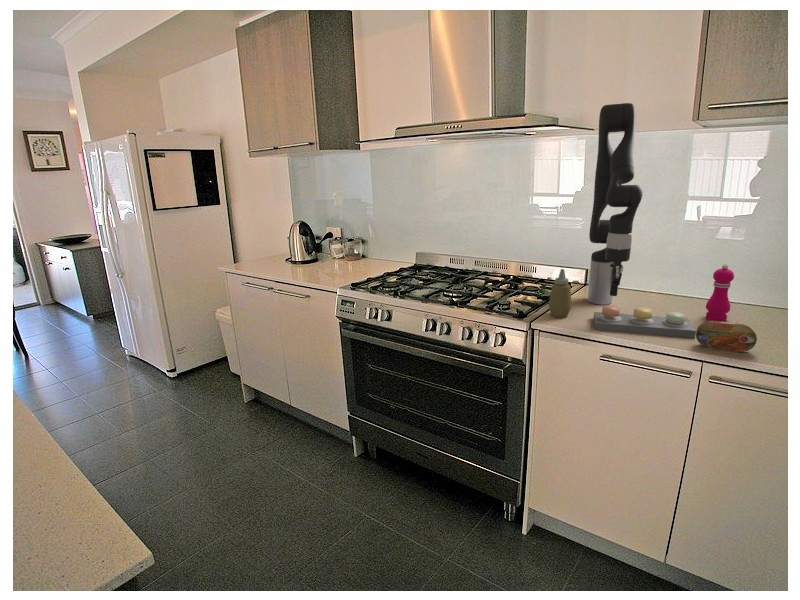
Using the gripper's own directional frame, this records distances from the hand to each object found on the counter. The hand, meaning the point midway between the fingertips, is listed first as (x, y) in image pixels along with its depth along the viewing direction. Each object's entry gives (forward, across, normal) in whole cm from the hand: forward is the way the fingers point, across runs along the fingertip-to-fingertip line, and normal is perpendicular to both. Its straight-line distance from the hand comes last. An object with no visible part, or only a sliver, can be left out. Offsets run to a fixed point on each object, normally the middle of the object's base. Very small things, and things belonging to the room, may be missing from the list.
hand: (613, 295), depth 159 cm
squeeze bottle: (+11, -6, -17) cm, 21 cm away
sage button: (+8, 0, +20) cm, 21 cm away
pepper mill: (+11, -16, +36) cm, 41 cm away
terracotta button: (+7, 0, 0) cm, 7 cm away
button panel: (+11, 0, +10) cm, 15 cm away
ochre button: (+7, 0, +10) cm, 12 cm away
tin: (+11, +13, +31) cm, 35 cm away
